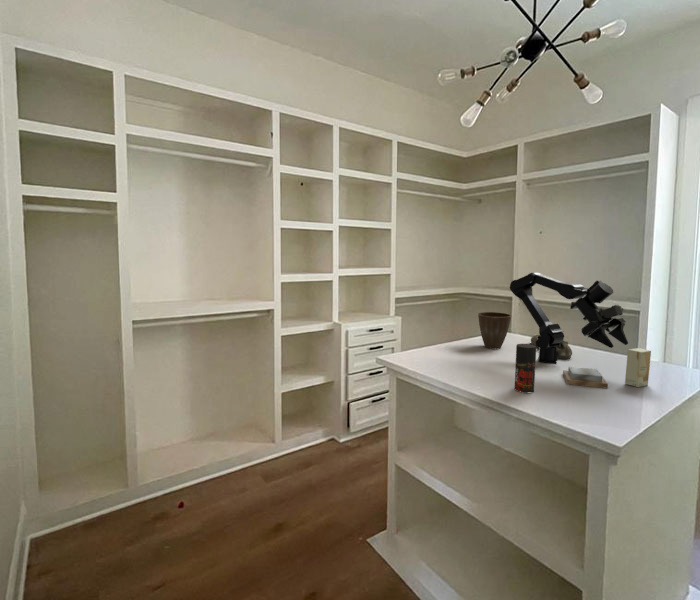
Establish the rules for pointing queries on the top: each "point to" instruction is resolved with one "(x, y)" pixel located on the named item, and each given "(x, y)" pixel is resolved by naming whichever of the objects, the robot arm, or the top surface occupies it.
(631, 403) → the top surface
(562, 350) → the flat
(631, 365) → the skincare box
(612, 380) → the top surface
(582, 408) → the top surface
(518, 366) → the deodorant
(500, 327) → the plant pot
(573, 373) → the brown picture frame
